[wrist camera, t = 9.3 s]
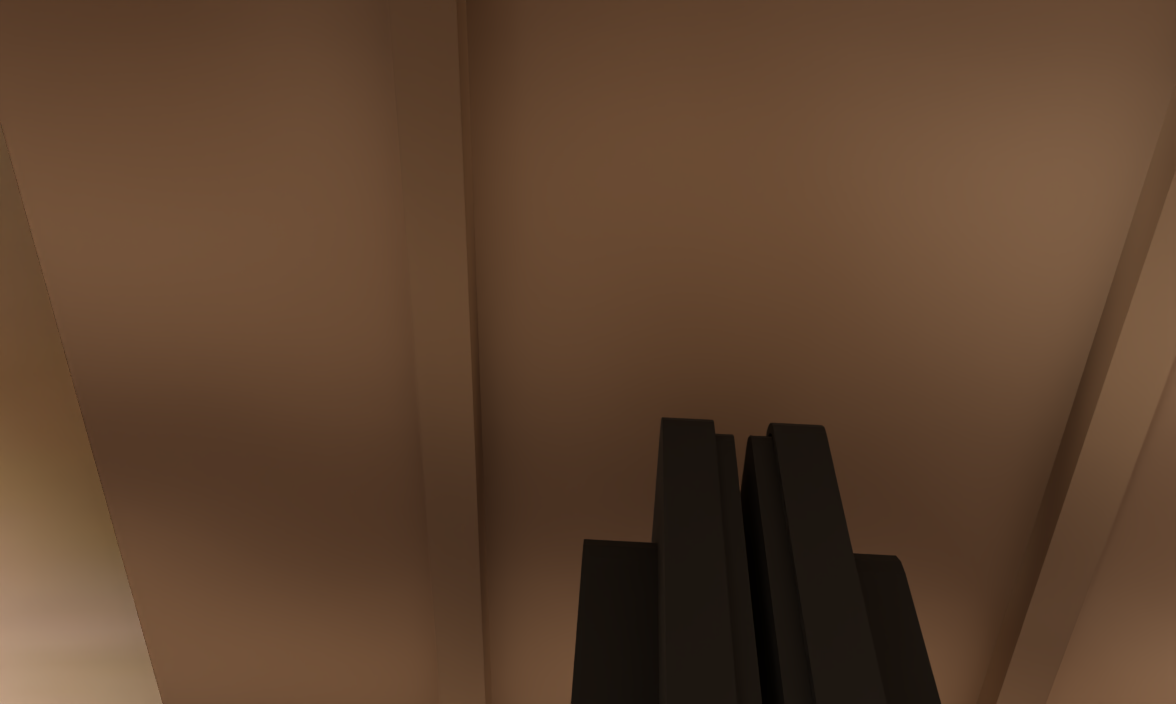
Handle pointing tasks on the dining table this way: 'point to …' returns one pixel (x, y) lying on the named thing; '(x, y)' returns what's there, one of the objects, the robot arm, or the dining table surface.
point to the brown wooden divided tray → (606, 316)
